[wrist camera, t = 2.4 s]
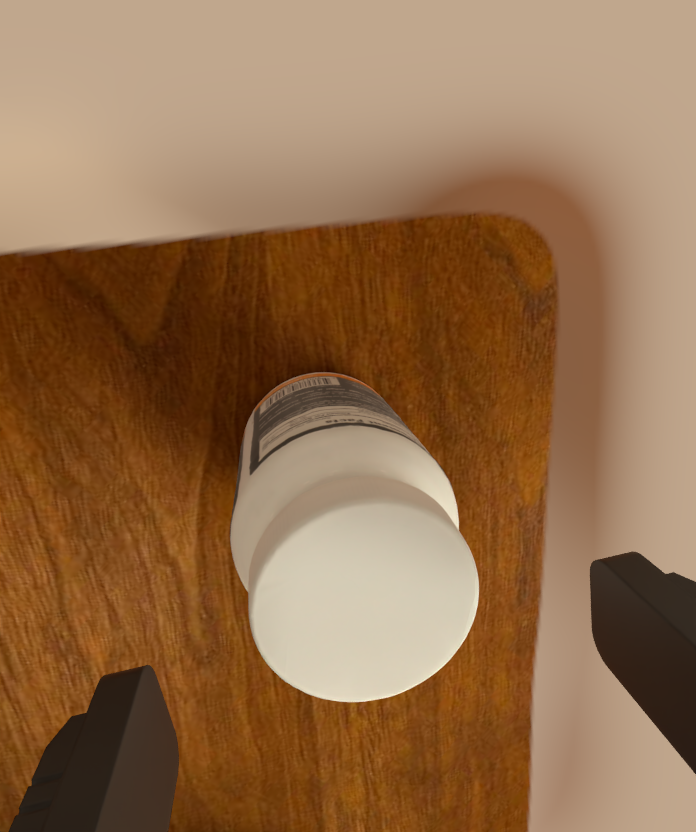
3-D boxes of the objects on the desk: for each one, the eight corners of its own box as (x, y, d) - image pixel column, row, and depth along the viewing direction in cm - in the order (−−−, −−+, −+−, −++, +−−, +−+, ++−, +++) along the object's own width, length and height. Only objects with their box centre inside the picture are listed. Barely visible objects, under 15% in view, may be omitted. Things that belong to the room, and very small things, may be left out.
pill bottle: (365, 528, 21) (444, 745, 12) (221, 490, 20) (184, 702, 11) (418, 394, 20) (553, 521, 11) (268, 345, 19) (273, 440, 9)
